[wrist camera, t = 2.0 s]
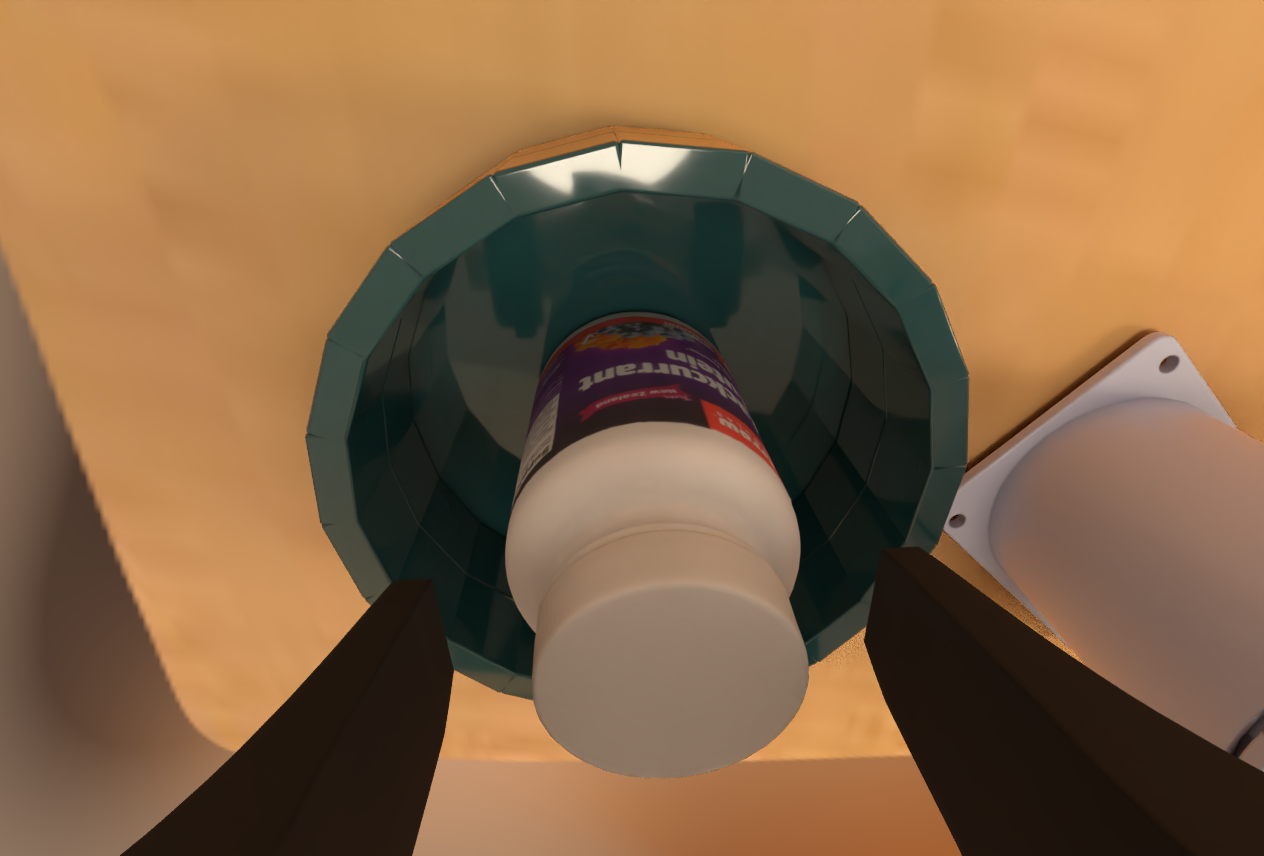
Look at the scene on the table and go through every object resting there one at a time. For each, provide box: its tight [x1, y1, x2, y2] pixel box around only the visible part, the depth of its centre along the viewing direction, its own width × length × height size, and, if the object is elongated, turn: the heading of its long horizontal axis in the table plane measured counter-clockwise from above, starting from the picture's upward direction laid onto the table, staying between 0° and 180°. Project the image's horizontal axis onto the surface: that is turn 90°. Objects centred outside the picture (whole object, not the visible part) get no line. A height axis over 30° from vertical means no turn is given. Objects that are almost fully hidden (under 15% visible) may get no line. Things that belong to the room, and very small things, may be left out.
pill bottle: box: [505, 312, 809, 778], centre depth 13 cm, size 5×5×10 cm
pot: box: [305, 126, 969, 700], centre depth 16 cm, size 14×14×5 cm
